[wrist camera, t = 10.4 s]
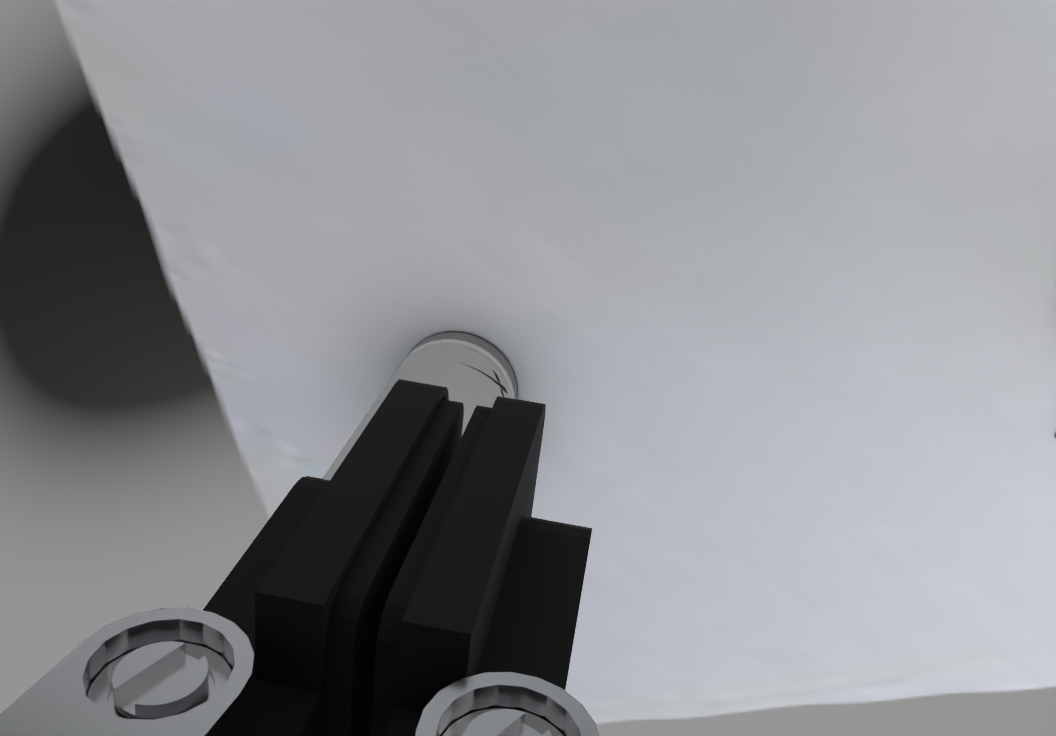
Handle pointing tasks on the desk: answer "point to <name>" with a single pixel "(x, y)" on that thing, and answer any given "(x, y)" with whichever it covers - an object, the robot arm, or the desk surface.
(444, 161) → the desk surface
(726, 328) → the desk surface
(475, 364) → the travel mug
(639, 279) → the desk surface
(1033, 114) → the desk surface
